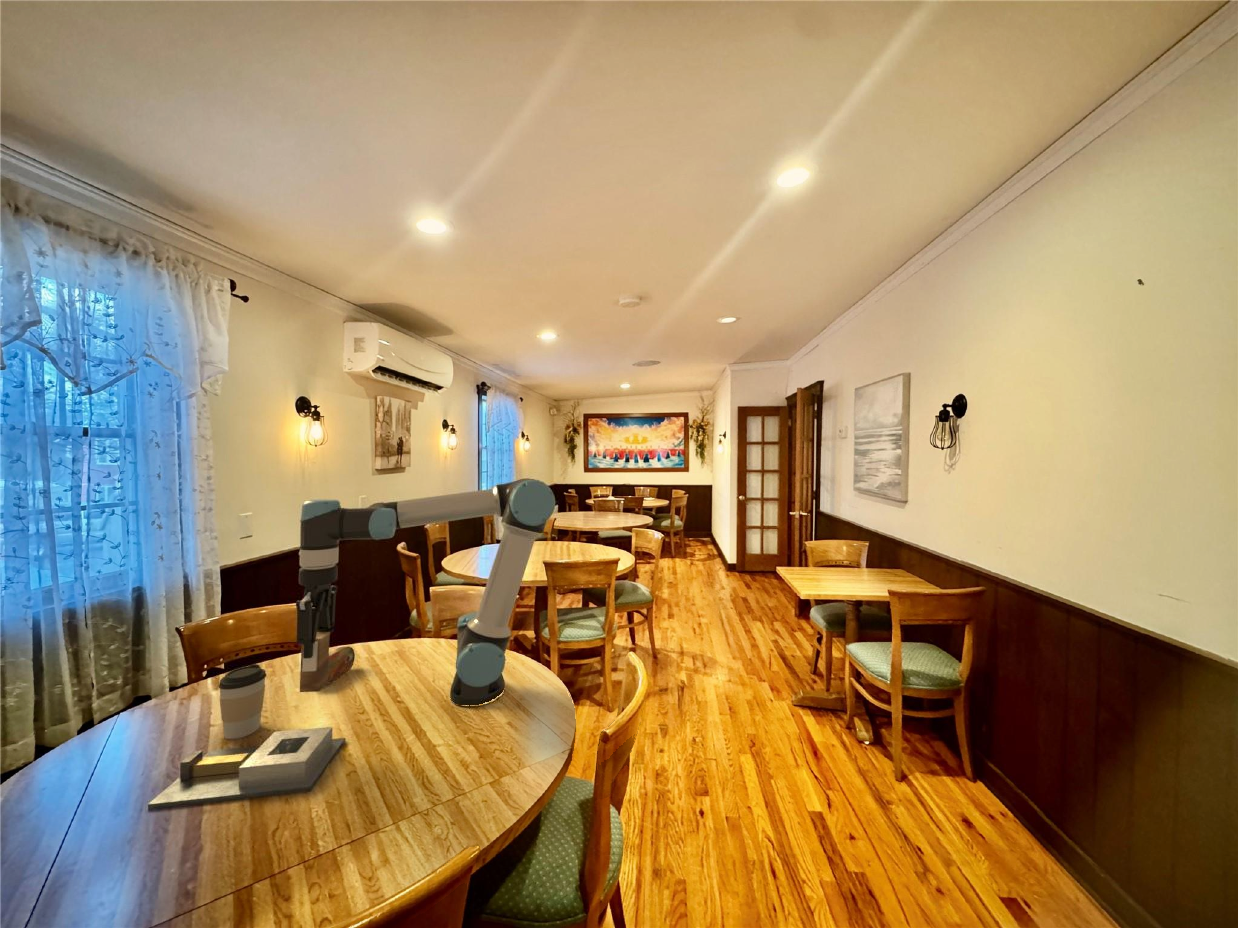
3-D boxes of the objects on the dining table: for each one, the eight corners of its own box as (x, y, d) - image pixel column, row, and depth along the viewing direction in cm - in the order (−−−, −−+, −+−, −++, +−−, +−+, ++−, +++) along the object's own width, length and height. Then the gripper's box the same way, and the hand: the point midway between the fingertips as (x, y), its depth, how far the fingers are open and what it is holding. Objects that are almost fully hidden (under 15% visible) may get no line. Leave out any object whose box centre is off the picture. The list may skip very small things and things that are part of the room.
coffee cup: (237, 744, 102) (238, 680, 103) (207, 739, 104) (208, 676, 104) (274, 722, 111) (275, 663, 111) (246, 717, 113) (247, 660, 113)
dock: (345, 741, 104) (345, 720, 104) (310, 791, 88) (310, 766, 88) (210, 754, 99) (210, 732, 99) (148, 809, 83) (148, 783, 83)
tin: (319, 691, 126) (319, 662, 127) (309, 691, 127) (309, 662, 127) (355, 668, 141) (355, 642, 142) (346, 667, 142) (346, 641, 142)
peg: (328, 682, 104) (330, 631, 104) (318, 691, 100) (320, 638, 100) (309, 683, 103) (311, 632, 103) (298, 692, 99) (300, 639, 99)
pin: (250, 762, 95) (250, 745, 95) (238, 773, 91) (239, 756, 91) (193, 767, 93) (194, 751, 93) (180, 779, 89) (180, 762, 89)
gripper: (321, 558, 110) (317, 650, 110) (278, 574, 93) (274, 684, 92) (353, 558, 111) (349, 649, 111) (316, 574, 94) (312, 683, 94)
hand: (315, 665), depth 102 cm, fingers closed on peg, 4 cm apart
